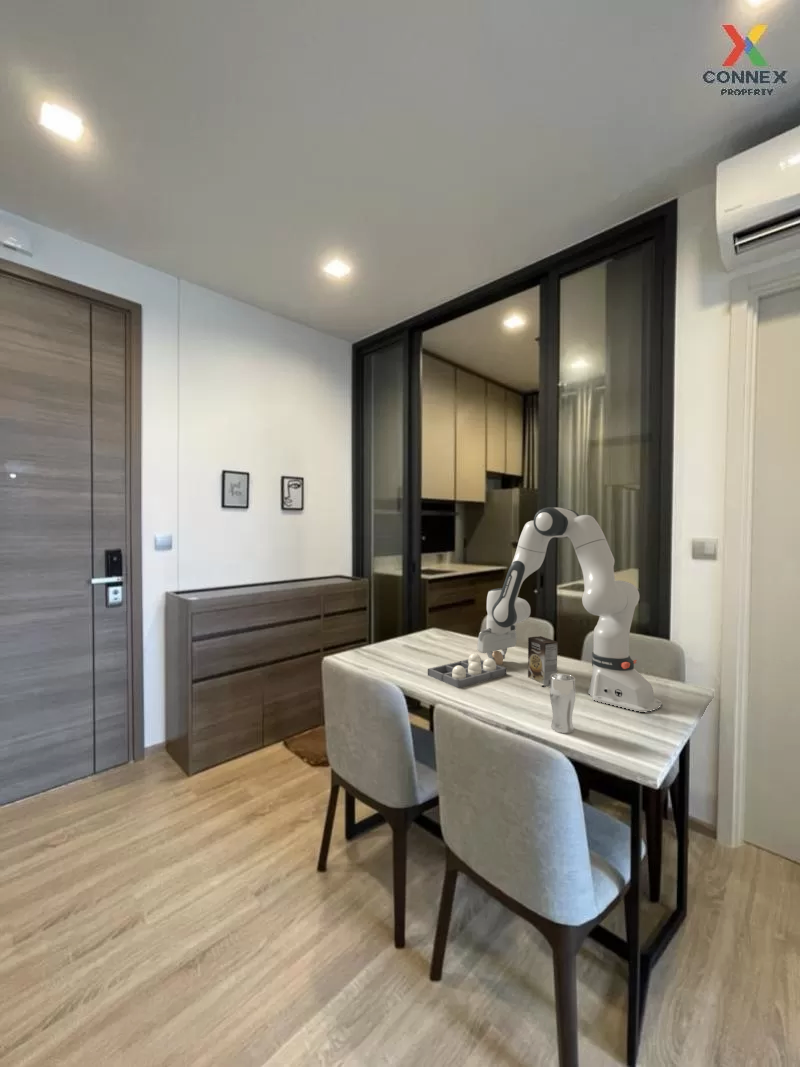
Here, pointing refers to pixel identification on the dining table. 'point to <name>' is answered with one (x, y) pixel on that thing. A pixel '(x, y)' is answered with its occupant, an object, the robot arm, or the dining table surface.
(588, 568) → the robot arm
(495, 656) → the brown egg
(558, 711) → the beer glass
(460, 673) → the egg front left
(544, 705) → the dining table surface
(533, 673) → the coffee box
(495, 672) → the egg carton
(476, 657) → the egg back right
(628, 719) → the dining table surface
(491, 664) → the egg front right
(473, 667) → the egg front middle
